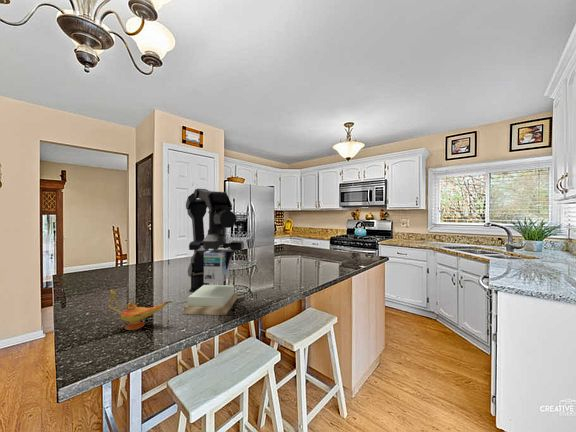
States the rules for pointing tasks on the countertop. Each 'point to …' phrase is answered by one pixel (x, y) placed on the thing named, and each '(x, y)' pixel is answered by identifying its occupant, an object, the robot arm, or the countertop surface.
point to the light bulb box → (215, 266)
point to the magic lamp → (135, 313)
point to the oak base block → (211, 308)
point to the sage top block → (211, 295)
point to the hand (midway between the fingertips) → (217, 268)
